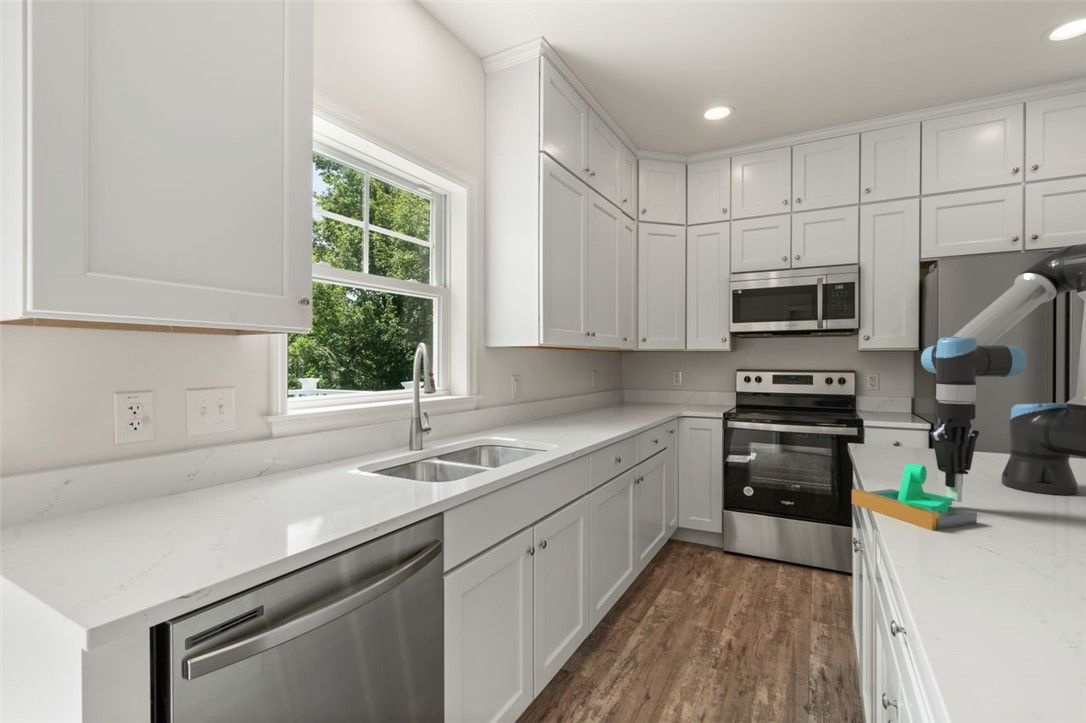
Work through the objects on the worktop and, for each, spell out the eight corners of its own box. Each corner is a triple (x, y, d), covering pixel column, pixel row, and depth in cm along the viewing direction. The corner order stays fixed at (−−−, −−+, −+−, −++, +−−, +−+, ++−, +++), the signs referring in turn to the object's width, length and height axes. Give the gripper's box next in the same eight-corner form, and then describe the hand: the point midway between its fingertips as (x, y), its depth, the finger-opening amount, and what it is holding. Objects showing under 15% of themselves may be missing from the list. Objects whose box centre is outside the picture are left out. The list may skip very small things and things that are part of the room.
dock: (892, 499, 134) (892, 485, 134) (976, 523, 115) (976, 507, 115) (851, 503, 131) (851, 489, 131) (932, 530, 112) (932, 513, 111)
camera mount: (936, 518, 119) (936, 472, 119) (897, 510, 125) (897, 467, 125) (953, 508, 127) (953, 465, 126) (916, 501, 133) (916, 460, 132)
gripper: (958, 399, 132) (957, 493, 132) (919, 401, 128) (918, 498, 129) (992, 402, 125) (990, 502, 125) (951, 404, 121) (949, 507, 121)
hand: (953, 500), depth 127 cm, fingers closed
